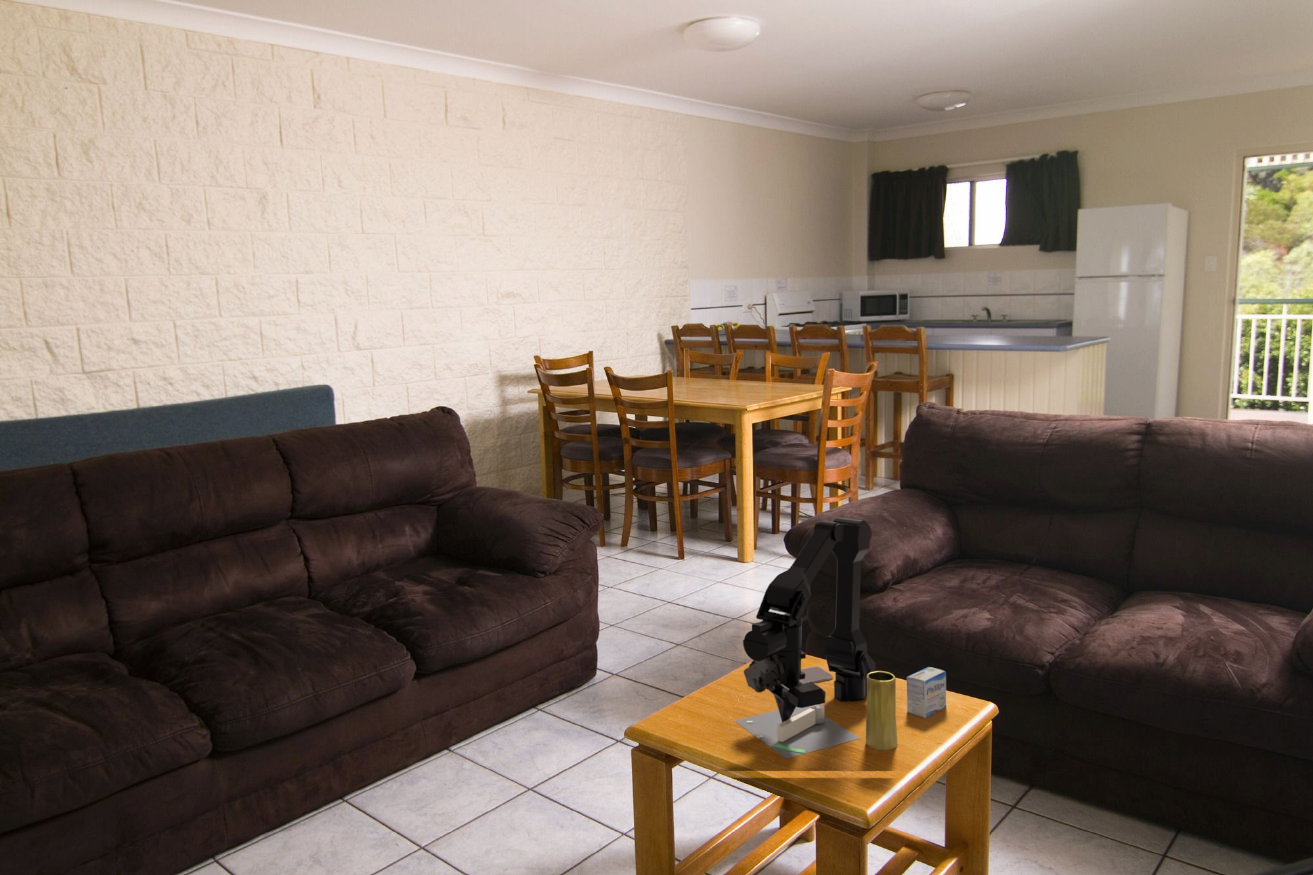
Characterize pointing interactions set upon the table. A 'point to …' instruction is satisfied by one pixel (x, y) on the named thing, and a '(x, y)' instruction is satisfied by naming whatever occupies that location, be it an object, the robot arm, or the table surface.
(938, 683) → the medicine box
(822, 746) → the dial plate
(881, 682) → the vase
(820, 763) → the table surface
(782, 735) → the lever
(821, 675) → the smartphone
